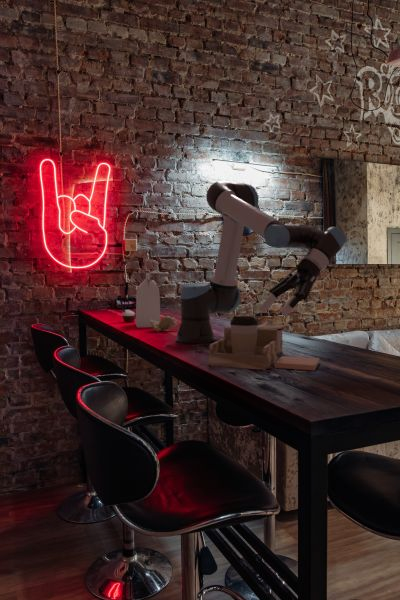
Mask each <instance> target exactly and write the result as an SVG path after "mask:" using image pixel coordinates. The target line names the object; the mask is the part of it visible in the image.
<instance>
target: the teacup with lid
mask: <svg viewBox="0 0 400 600" xmlns="http://www.w3.org/2000/svg"><path fill="white" fill-rule="evenodd" d="M283 327H284V326H282V325H279V324H278V323H277V322H274V319H273V318H271V319H270V318H269V319H267V321H266V322H264V323H262V324H258V326H257V328H259V329H277V354H280V353H282V352H283V330H284V328H283Z"/></svg>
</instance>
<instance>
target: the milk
mask: <svg viewBox="0 0 400 600" xmlns="http://www.w3.org/2000/svg"><path fill="white" fill-rule="evenodd" d="M150 275H151V274H150V273H148V272H146V273H145V279H144V280H143V281H142V282H141V283H140V284H138V286H137V287H136V299H135V301H136V303H135V306H136V307H135V315H136V316H135V317H136V319H135V326H136V327H137V328H153V327H152V325H151V323H150V319H151V320H155V321H158V322H160V321H161V319H162V318H161V300H160V299H161V297H160V296H161V295H160V288H159V286H158V284H157V282H156V281H155V280H154V279H151V278H150V277H151V276H150Z"/></svg>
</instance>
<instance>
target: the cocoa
mask: <svg viewBox="0 0 400 600" xmlns="http://www.w3.org/2000/svg"><path fill="white" fill-rule="evenodd" d="M119 304H120V305H121V309H122V319H123V321H124V323H133V322H134V321H136V312H135V311H132V310H130V309H125V307H124V304H123V301H122V299H119Z"/></svg>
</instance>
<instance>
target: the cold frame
mask: <svg viewBox="0 0 400 600" xmlns="http://www.w3.org/2000/svg"><path fill="white" fill-rule="evenodd" d="M223 329H224V330H223V337H222V338H220V339H218V340H217V341H215V342H214V341H213V343H211V344H209V352H208V366H209V365H214V366H213V367H218V366H222V368H235V369H249V370H250V369H251V370H264V371H266V370H267V369H268V368H270V366H271V365H272V364H273V363H275V362H276V361H277V360H278V353H277V329H259V328H258V327H257V332H258V333H257V343H256V350H255V355H241V354H233V350H232V341H231V326H224V327H223Z"/></svg>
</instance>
